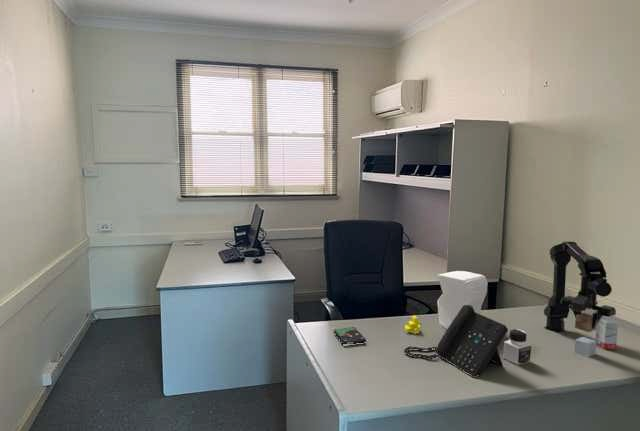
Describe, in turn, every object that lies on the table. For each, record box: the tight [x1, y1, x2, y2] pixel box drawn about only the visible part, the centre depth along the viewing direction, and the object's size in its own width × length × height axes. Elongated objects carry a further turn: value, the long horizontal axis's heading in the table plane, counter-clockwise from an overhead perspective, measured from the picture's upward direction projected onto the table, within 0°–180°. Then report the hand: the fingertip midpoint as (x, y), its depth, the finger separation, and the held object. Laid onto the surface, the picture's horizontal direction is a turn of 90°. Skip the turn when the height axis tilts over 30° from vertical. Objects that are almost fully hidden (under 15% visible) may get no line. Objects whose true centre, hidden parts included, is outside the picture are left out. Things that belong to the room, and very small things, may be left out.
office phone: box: [403, 305, 509, 376], centre depth 170 cm, size 29×28×20 cm
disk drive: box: [333, 326, 367, 344], centre depth 191 cm, size 10×3×15 cm
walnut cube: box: [574, 312, 597, 333], centre depth 176 cm, size 6×6×6 cm
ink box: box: [594, 316, 619, 351], centre depth 184 cm, size 9×5×12 cm, turn 168°
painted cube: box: [574, 336, 597, 358], centre depth 177 cm, size 6×6×6 cm
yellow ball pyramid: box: [403, 315, 422, 333], centre depth 199 cm, size 6×8×8 cm
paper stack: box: [435, 270, 489, 329], centre depth 204 cm, size 21×27×26 cm
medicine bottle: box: [502, 328, 532, 366], centre depth 170 cm, size 7×7×12 cm
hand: (585, 326), depth 176 cm, fingers closed on walnut cube, 5 cm apart
